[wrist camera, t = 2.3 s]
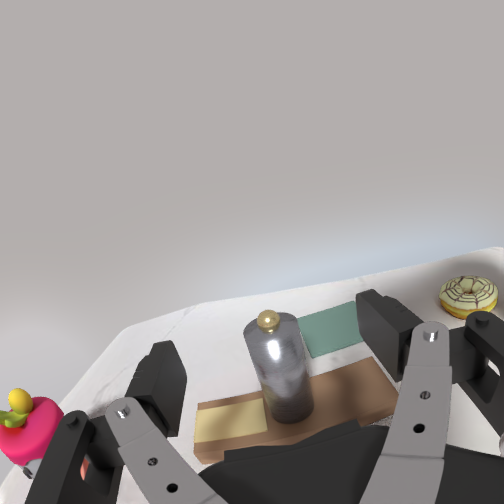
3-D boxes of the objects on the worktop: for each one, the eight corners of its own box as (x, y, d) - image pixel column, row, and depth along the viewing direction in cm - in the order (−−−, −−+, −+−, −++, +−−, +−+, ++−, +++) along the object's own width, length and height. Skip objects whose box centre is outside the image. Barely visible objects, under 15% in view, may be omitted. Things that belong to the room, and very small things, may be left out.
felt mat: (353, 303, 48) (353, 300, 48) (381, 334, 38) (380, 330, 38) (296, 321, 48) (295, 318, 48) (312, 358, 38) (311, 355, 38)
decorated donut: (459, 284, 42) (460, 266, 41) (504, 300, 32) (507, 280, 31) (428, 309, 39) (428, 289, 38) (478, 331, 29) (482, 309, 28)
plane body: (372, 370, 32) (371, 355, 31) (399, 411, 24) (401, 396, 23) (205, 415, 32) (197, 402, 31) (202, 464, 24) (192, 452, 23)
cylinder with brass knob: (308, 387, 29) (288, 292, 26) (319, 416, 25) (300, 317, 21) (268, 398, 29) (237, 306, 26) (273, 428, 25) (239, 333, 21)
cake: (67, 445, 26) (6, 365, 22) (121, 456, 25) (51, 367, 21) (41, 495, 16) (-39, 413, 12) (96, 518, 15) (-2, 433, 11)
